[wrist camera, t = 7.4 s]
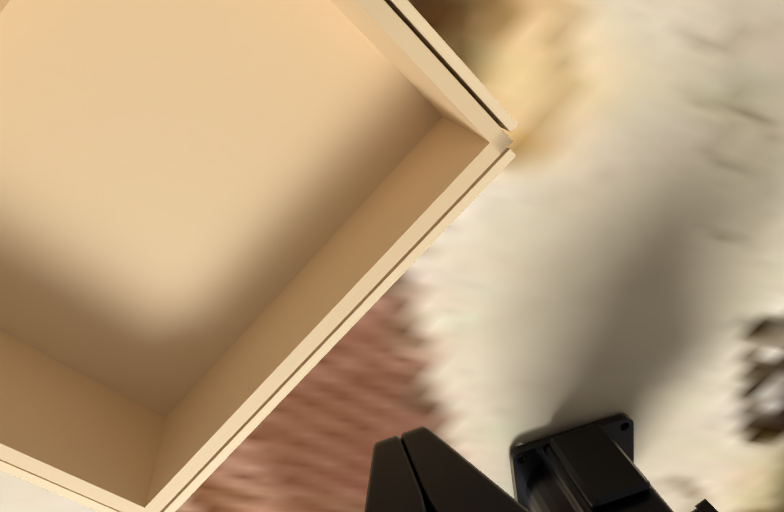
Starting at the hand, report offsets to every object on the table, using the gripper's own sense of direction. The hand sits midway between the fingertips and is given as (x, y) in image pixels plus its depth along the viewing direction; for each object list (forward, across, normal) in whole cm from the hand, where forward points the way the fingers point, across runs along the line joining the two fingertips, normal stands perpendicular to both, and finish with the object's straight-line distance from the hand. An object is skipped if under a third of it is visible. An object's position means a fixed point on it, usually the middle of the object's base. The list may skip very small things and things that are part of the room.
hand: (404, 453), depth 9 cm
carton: (+14, +4, -2) cm, 15 cm away
